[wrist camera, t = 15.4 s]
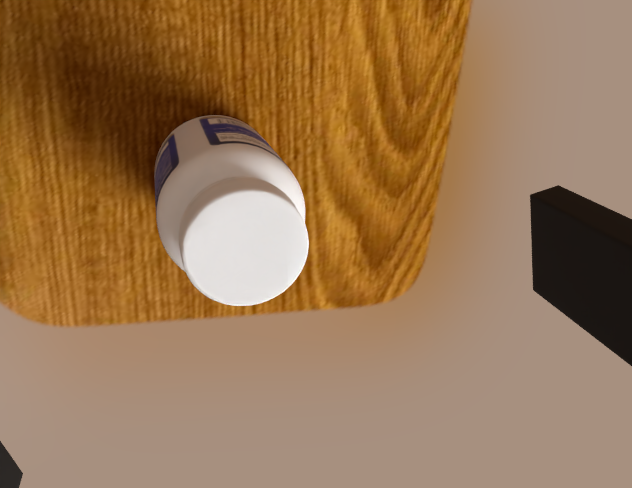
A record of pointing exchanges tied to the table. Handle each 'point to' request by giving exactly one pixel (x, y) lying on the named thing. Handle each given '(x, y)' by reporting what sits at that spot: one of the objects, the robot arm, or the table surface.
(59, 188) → the table surface
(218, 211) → the pill bottle
